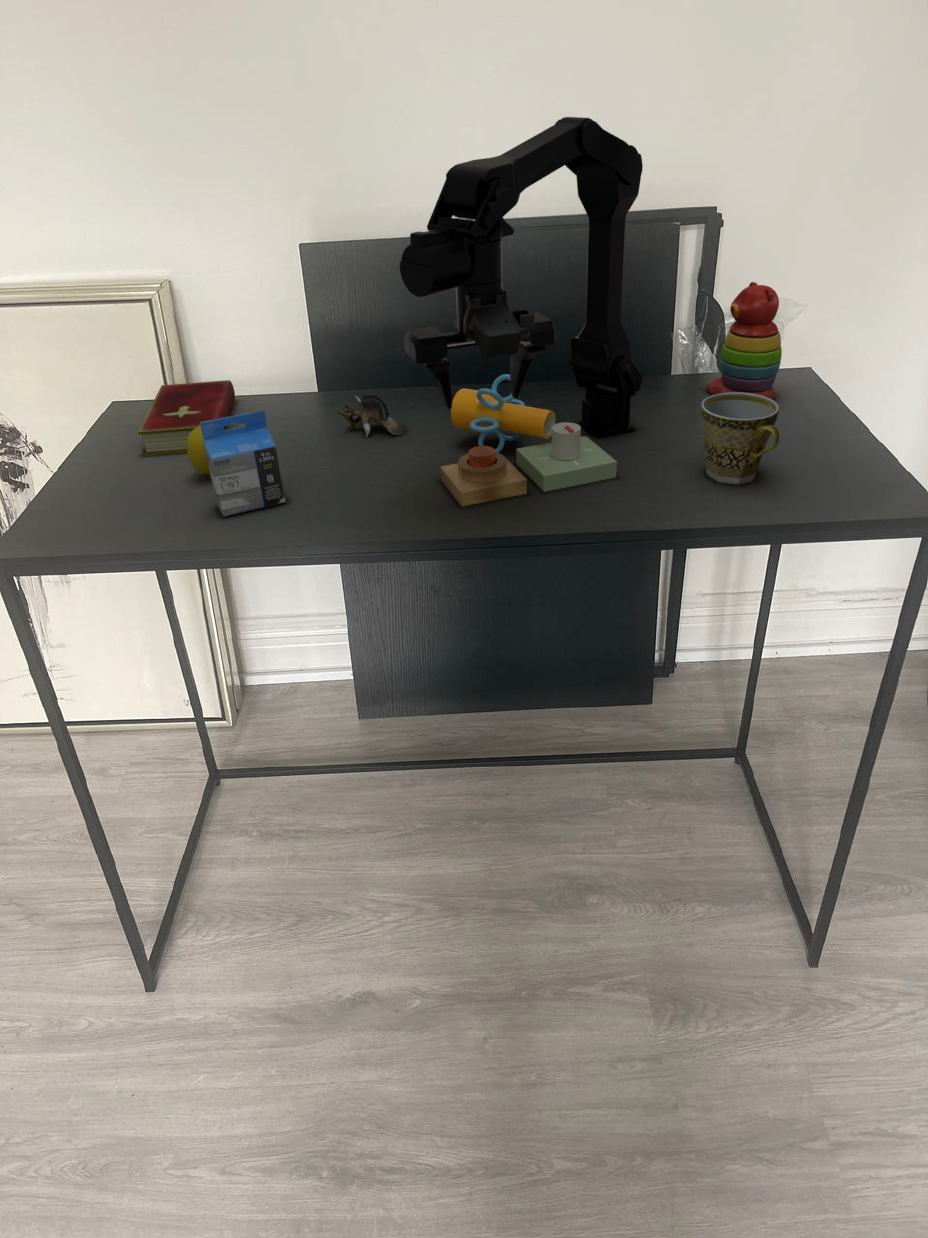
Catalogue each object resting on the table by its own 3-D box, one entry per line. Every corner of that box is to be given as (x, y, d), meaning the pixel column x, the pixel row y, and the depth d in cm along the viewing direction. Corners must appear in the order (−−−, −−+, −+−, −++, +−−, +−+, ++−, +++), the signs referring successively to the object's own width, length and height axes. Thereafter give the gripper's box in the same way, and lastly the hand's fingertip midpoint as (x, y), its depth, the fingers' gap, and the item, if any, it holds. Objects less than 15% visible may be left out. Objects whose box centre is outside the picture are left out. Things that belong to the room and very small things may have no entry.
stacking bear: (702, 387, 154) (714, 279, 144) (760, 382, 155) (776, 274, 145) (724, 410, 145) (738, 296, 135) (786, 405, 146) (804, 291, 136)
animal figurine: (336, 435, 141) (389, 428, 138) (334, 389, 141) (387, 381, 138) (358, 444, 148) (409, 437, 145) (356, 400, 148) (407, 393, 145)
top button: (489, 455, 126) (489, 443, 125) (499, 465, 123) (499, 453, 122) (465, 460, 125) (465, 448, 124) (474, 470, 122) (473, 458, 121)
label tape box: (222, 518, 122) (203, 431, 115) (216, 506, 125) (198, 421, 118) (286, 503, 125) (272, 418, 118) (279, 492, 128) (264, 408, 121)
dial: (547, 451, 129) (547, 422, 127) (572, 446, 130) (573, 418, 128) (558, 462, 126) (558, 433, 124) (584, 457, 127) (585, 428, 124)
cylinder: (440, 455, 136) (529, 475, 129) (436, 388, 130) (529, 405, 123) (481, 426, 144) (566, 443, 138) (479, 361, 138) (568, 376, 132)
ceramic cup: (680, 468, 129) (686, 400, 123) (738, 453, 132) (747, 386, 126) (737, 505, 119) (747, 433, 113) (799, 488, 122) (811, 417, 116)
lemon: (198, 487, 130) (186, 435, 126) (189, 473, 134) (177, 422, 130) (236, 478, 132) (225, 426, 128) (226, 465, 136) (215, 414, 132)
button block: (503, 468, 131) (502, 442, 129) (527, 494, 124) (527, 467, 122) (440, 480, 129) (439, 454, 126) (461, 507, 122) (460, 479, 119)
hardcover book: (236, 401, 159) (231, 378, 156) (222, 449, 141) (217, 424, 139) (166, 407, 158) (161, 383, 156) (144, 455, 141) (137, 430, 138)
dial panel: (585, 451, 135) (585, 434, 133) (616, 477, 127) (617, 460, 125) (516, 464, 132) (516, 447, 130) (543, 492, 124) (543, 474, 123)
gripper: (425, 304, 102) (433, 435, 111) (577, 284, 107) (573, 411, 115) (398, 282, 111) (407, 405, 119) (539, 265, 116) (538, 384, 124)
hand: (482, 402), depth 119 cm, fingers open, 9 cm apart
